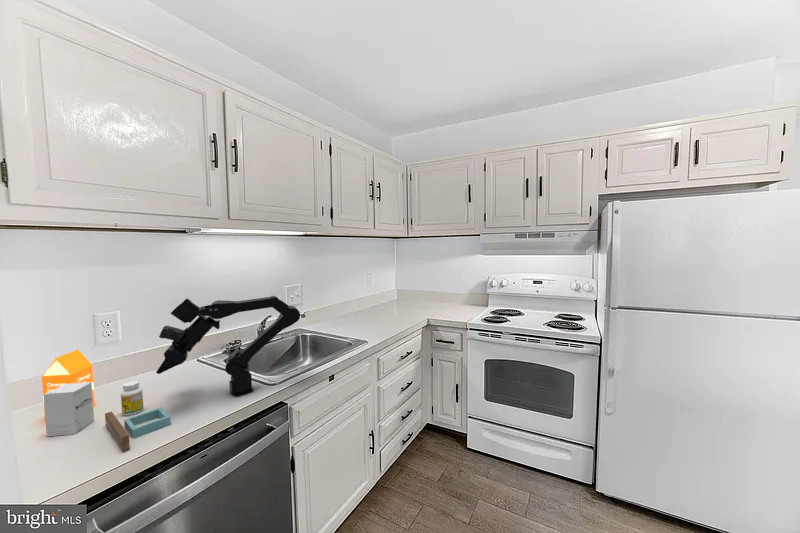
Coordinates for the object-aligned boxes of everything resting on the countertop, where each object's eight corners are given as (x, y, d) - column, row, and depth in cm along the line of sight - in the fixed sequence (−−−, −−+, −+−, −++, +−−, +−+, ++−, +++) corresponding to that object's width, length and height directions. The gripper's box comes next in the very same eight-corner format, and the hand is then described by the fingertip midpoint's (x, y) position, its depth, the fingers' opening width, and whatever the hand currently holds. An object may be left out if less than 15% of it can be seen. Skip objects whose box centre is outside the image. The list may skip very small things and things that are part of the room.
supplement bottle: (146, 410, 105) (144, 381, 104) (126, 417, 100) (124, 388, 100) (138, 406, 107) (137, 378, 107) (119, 413, 103) (117, 384, 102)
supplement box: (75, 434, 91) (72, 392, 91) (45, 437, 90) (41, 394, 89) (95, 420, 99) (92, 381, 98) (67, 422, 97) (64, 383, 97)
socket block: (161, 414, 102) (160, 407, 102) (170, 424, 96) (170, 416, 96) (124, 427, 95) (124, 419, 95) (132, 438, 89) (132, 430, 89)
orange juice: (44, 422, 98) (39, 359, 96) (69, 408, 106) (64, 349, 105) (73, 420, 99) (69, 357, 98) (95, 406, 108) (91, 348, 106)
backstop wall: (112, 423, 97) (111, 411, 96) (129, 449, 84) (128, 435, 84) (105, 426, 96) (105, 413, 95) (122, 452, 83) (121, 437, 83)
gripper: (180, 312, 116) (145, 346, 112) (170, 323, 99) (128, 364, 95) (207, 330, 120) (174, 364, 116) (201, 343, 103) (162, 383, 99)
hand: (160, 368), depth 106 cm, fingers open, 9 cm apart
